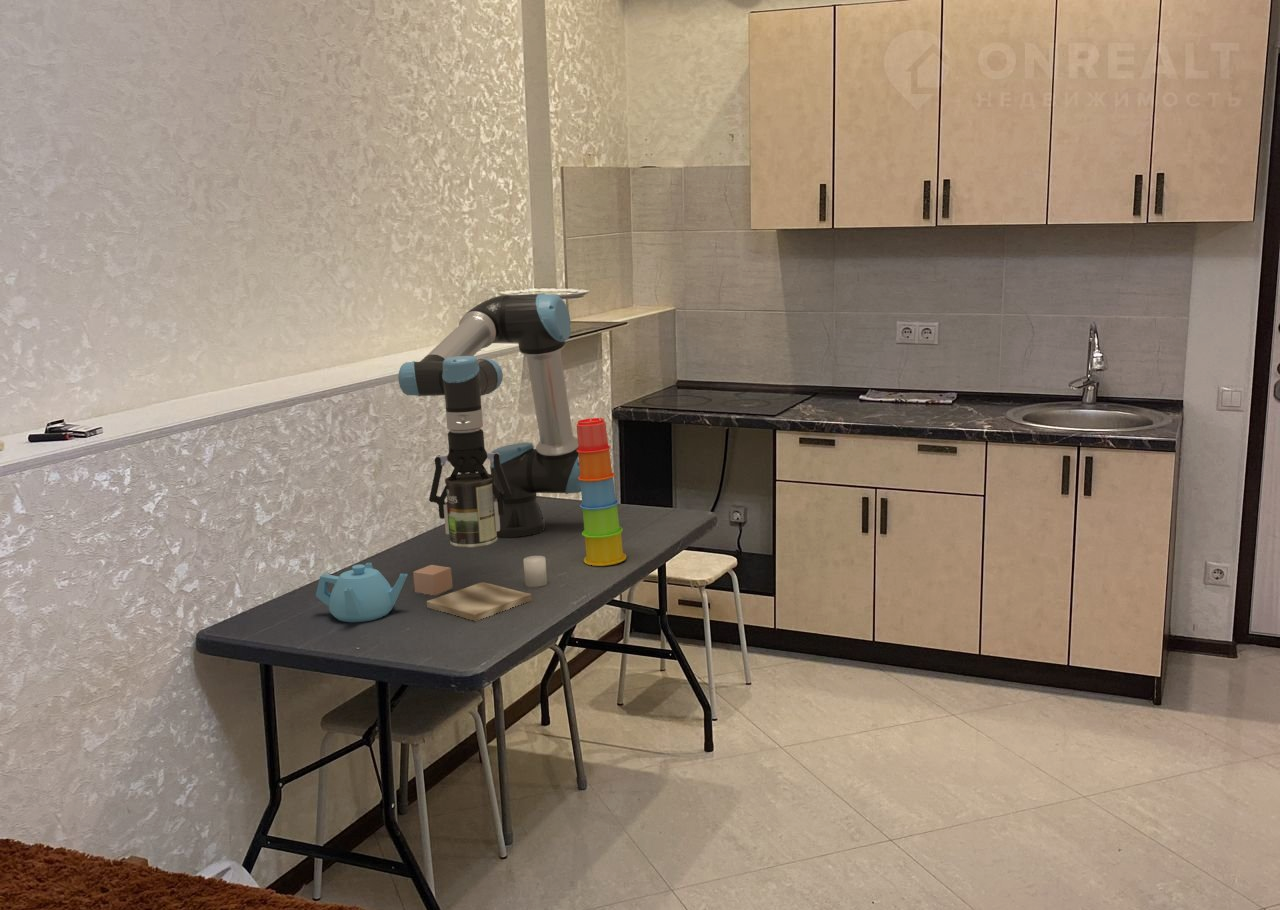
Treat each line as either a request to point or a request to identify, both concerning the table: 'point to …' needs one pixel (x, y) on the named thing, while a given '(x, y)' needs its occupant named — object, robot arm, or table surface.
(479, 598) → the birch board
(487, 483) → the coffee can
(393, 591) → the teapot
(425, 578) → the terracotta block
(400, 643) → the table surface
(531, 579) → the off-white cylinder
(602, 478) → the stacking cups
